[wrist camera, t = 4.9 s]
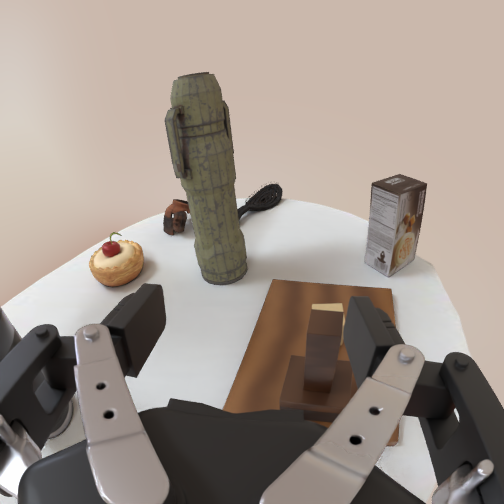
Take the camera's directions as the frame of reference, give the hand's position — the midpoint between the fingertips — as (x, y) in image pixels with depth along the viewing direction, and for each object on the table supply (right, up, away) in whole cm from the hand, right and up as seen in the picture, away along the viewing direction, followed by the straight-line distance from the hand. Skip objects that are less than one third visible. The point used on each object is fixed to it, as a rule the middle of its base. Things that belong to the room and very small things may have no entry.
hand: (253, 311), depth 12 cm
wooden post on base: (+7, -14, +18) cm, 24 cm away
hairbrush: (0, +13, +65) cm, 66 cm away
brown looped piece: (-17, +8, +60) cm, 63 cm away
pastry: (-28, -2, +46) cm, 53 cm away
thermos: (-5, -1, +43) cm, 44 cm away
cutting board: (+10, -11, +25) cm, 29 cm away
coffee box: (+26, 0, +40) cm, 48 cm away
